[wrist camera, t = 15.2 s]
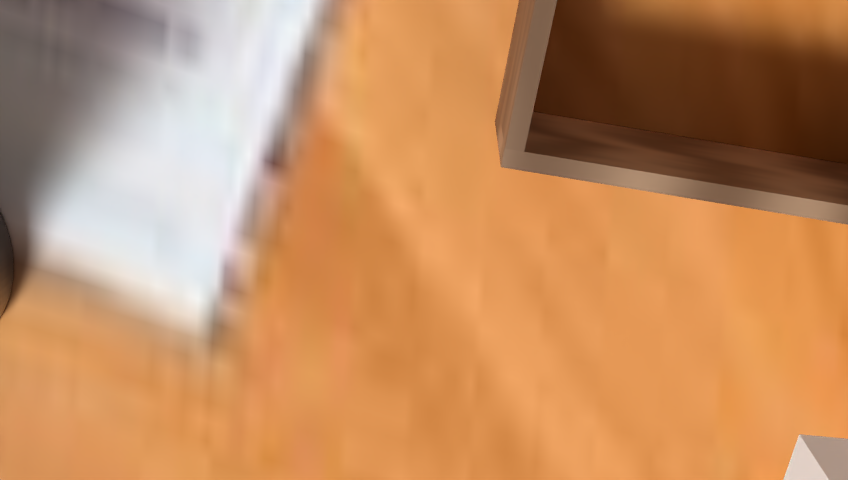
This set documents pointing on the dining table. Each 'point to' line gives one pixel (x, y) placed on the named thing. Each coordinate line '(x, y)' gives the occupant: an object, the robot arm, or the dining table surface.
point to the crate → (649, 147)
